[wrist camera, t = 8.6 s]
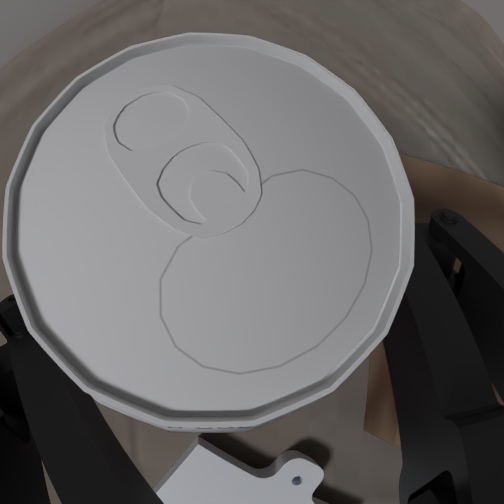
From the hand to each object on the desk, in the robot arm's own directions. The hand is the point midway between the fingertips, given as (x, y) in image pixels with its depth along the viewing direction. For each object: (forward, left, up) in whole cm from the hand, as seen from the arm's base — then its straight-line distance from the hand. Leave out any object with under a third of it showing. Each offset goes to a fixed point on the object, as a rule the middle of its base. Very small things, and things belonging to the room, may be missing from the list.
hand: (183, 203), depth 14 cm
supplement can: (+3, +1, -6) cm, 7 cm away
